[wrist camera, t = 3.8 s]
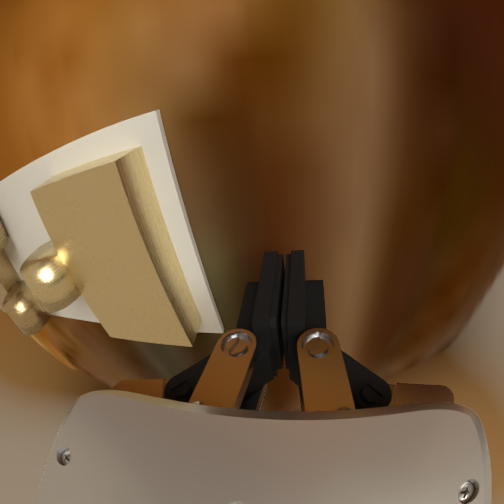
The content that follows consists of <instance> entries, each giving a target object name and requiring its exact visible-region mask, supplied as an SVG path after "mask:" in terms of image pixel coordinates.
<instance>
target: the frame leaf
mask: <svg viewBox="0 0 504 504" xmlns="http://www.w3.org/2000/svg"><path fill="white" fill-rule="evenodd" d="M8 241H9V237H8V235H7V233H6V231H5V229H4V227H3V224H2V222H1V220H0V309H1V310H2V312H5V313H8V315H9V316H10V317H11V319H12V320H13V321H14V322H15V324H16V325H17V326H18V328H19V329H20V330H21V331H22V332H23V334H24V335H32V334H35V333H36V332H38V331H39V330H40V329H41V328H42V327H43V326H44V325H45V324H46V323H47V321H48V319H49V317H50V314H51V312H46V311H45V310H44V309H43V308H42V307H41V305H40V304H39V302H38V301H37V299H36V298H35V296H34V295H33V293H32V292H31V290H30V289H29V287H28V286H27V284H26V282H25V281H24V280H21V279H20V277H19V275H18V274H17V272H16V270H15V269H14V267H13V265H12V263H11V262H10V260H9V258H8V256H7V254H6V252H5V251H4V249H3V248H4V247H5V245H6V244H7V243H8Z"/></svg>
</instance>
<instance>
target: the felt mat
mask: <svg viewBox="0 0 504 504" xmlns="http://www.w3.org/2000/svg"><path fill="white" fill-rule="evenodd" d="M138 146H142V149H143V152H144V156H145V159H146V163H147V166H148V170H149V173H150V177H151V180H152V183H153V186H154V190H155V193H156V196H157V199H158V202H159V205H160V209H161V212H162V215H163V218H164V221H165V224H166V226H167V229H168V232H169V235H170V238H171V241H172V244H173V246H174V249H175V252H176V255H177V257H178V260H179V263H180V266H181V268H182V271H183V273H184V276H185V279H186V281H187V284H188V286H189V289H190V291H191V294H192V296H193V299H194V301H195V304H196V306H197V309H198V311H199V314H200V316H201V318H202V321H201V324H200V326H199V329H198V332H203V333H223V332H224V327H223V324H222V321H221V318H220V315H219V313H218V310H217V307H216V304H215V301H214V298H213V295H212V292H211V289H210V286H209V283H208V280H207V277H206V274H205V271H204V268H203V265H202V262H201V259H200V256H199V253H198V249H197V246H196V243H195V240H194V237H193V233H192V230H191V227H190V223H189V220H188V217H187V213H186V210H185V206H184V203H183V199H182V196H181V192H180V189H179V185H178V181H177V178H176V174H175V170H174V167H173V163H172V159H171V155H170V151H169V147H168V143H167V139H166V135H165V131H164V127H163V123H162V119H161V115H160V110H156V111H152V112H149V113H146V114H143V115H139V116H136V117H133V118H130V119H128V120H125V121H122V122H119V123H116V124H114V125H111V126H108V127H106V128H103V129H101V130H98V131H96V132H93V133H91V134H88V135H86V136H84V137H82V138H79V139H77V140H75V141H73V142H70V143H68V144H66V145H64V146H62V147H60V148H58V149H56V150H54V151H52V152H50V153H48V154H46V155H44V156H42V157H40V158H39V159H37V160H35V161H33V162H31V163H29V164H28V165H26V166H24V167H23V168H21V169H19V170H18V171H16V172H14V173H13V174H11V175H9V176H8V177H6V178H5V179H3V180H2V181H0V220H1V222H2V224H3V227H4V229H5V231H6V233H7V235H8V237H9V241H8V243H7V244H6V245H5V247H4V248H3V249H4V251H5V252H6V254H7V256H8V258H9V260H10V262H11V263H12V265H13V267H14V269H15V270H16V272H17V274H18V275H19V277H20V279H21V280H24V279H23V278H22V276H21V274H20V268H21V265H22V264H23V262H24V261H25V260H26V258H27V257H28V256H29V255H30V254H31V253H32V252H34V251H35V250H36V249H37V248H39V247H40V246H41V245H43V244H45V243H46V242H48V241H50V240H51V239H50V237H49V235H48V233H47V231H46V229H45V226H44V224H43V222H42V220H41V218H40V215H39V213H38V211H37V208H36V206H35V204H34V201H33V199H32V196H31V194H30V191H32V190H33V189H34V188H36V187H37V186H39V185H40V184H42V183H43V182H45V181H46V180H48V179H49V178H51V177H53V176H54V175H56V174H58V173H61V172H63V171H66V170H68V169H71V168H74V167H76V166H79V165H82V164H85V163H87V162H90V161H93V160H96V159H99V158H102V157H105V156H108V155H111V154H114V153H118V152H121V151H124V150H128V149H131V148H135V147H138ZM50 315H55V316H61V317H66V318H72V319H78V320H85V321H91V322H98V323H100V322H99V320H98V319H97V317H96V316H95V314H94V313H93V311H92V310H91V308H90V307H89V305H88V304H87V302H86V301H85V299H84V298H83V296H82V295H80V296H79V297H78V298H77V299H76V300H75V301H74V302H73V303H72V304H70V305H69V306H67V307H66V308H64V309H62V310H60V311H57V312H51V314H50Z"/></svg>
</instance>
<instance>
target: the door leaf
mask: <svg viewBox="0 0 504 504" xmlns="http://www.w3.org/2000/svg"><path fill="white" fill-rule="evenodd" d="M30 194H31V196H32V199H33V201H34V204H35V206H36V208H37V211H38V213H39V215H40V218H41V220H42V222H43V224H44V226H45V229H46V231H47V233H48V235H49V237H50V239H51V240H50V241H48V242H46V243H45V244H43V245H41V246H40V247H39V248H37V249H36V250H35V251H34V252H32V253H31V254H30V255H29V256H28V257H27V258H26V260H25V261H24V262H23V264H22V265H21V268H20V274H21V276H22V278H23V279H24V281H25V282H26V284H27V286H28V287H29V289H30V290H31V292H32V293H33V295H34V296H35V298H36V299H37V301H38V302H39V304H40V305H41V307H42V308H43V309H44V310H45V311H46V312H57V311H60V310H62V309H64V308H66V307H67V306H69V305H70V304H72V303H73V302H74V301H75V300H76V299H77V298H78V297H79V296H80V295H82V296H83V298H84V299H85V301H86V302H87V304H88V305H89V307H90V308H91V310H92V311H93V313H94V314H95V316H96V317H97V319H98V320H99V322H100V323H101V325H102V326H103V327H104V329H105V330H106V332H107V333H108V334H109V336H110V337H114V338H120V339H127V340H134V341H141V342H149V343H158V344H167V345H177V346H188V347H193V344H194V341H195V338H196V335H197V332H198V329H199V326H200V324H201V321H202V318H201V316H200V314H199V311H198V309H197V306H196V304H195V301H194V299H193V296H192V294H191V291H190V289H189V286H188V284H187V281H186V279H185V276H184V273H183V271H182V268H181V266H180V263H179V260H178V257H177V255H176V252H175V249H174V246H173V244H172V241H171V238H170V235H169V232H168V229H167V226H166V224H165V221H164V218H163V215H162V212H161V209H160V205H159V202H158V199H157V196H156V193H155V190H154V186H153V183H152V180H151V177H150V173H149V170H148V166H147V163H146V159H145V156H144V152H143V149H142V146H138V147H135V148H131V149H128V150H124V151H121V152H118V153H114V154H111V155H108V156H105V157H102V158H99V159H96V160H93V161H90V162H87V163H85V164H82V165H79V166H76V167H74V168H71V169H68V170H66V171H63V172H61V173H58V174H56V175H54V176H53V177H51V178H49V179H48V180H46V181H45V182H43V183H42V184H40V185H39V186H37V187H36V188H34V189H33V190H32V191H30Z"/></svg>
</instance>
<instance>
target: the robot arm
mask: <svg viewBox="0 0 504 504" xmlns="http://www.w3.org/2000/svg"><path fill="white" fill-rule="evenodd" d="M284 354H285V362H286V369H289V374H290V379H291V380H292V381H293V382H294V383H295V384H297V385H298V386H299V394H300V403H301V411H302V412H280V411H259V410H260V407H261V403H262V400H263V397H264V394H265V391H266V387H267V383H268V382H270V381H271V380H272V379H274V376H277V372H278V369H282V368H283V359H284ZM36 504H491V466H490V458H489V451H488V445H487V440H486V436H485V432H484V429H483V426H482V423H481V421H480V419H479V417H478V416H477V414H476V413H475V412H474V411H473V410H471V409H470V408H468V407H465V406H463V405H459V404H455V403H454V396H453V393H452V391H451V390H450V389H449V388H447V387H446V386H442V385H424V384H407V383H397V384H396V385H391V384H388V383H386V382H385V381H384V380H383V379H381V378H380V377H379V376H377V375H376V374H374V373H373V372H371V371H370V370H369V369H367V368H366V367H364V366H363V365H361V364H360V363H359V362H357V361H356V360H354V359H353V358H352V357H350V356H349V355H347V354H346V353H344V352H343V351H342V350H341V348H340V344H339V341H338V339H337V337H336V335H335V334H334V333H333V332H331V331H329V330H327V329H326V315H325V301H324V288H323V280H309V281H305V261H304V250H297V251H291V254H286V266H285V270H284V261H283V255H278V252H277V251H275V252H265V253H264V258H263V263H262V269H261V274H260V280H259V282H248V283H247V286H246V290H245V294H244V298H243V303H242V307H241V311H240V315H239V320H238V324H237V328H236V329H233V330H229V331H227V332H225V333H224V334H223V335H222V336H221V337H220V338H219V340H218V341H217V343H216V346H215V348H214V350H213V352H212V354H211V355H209V356H208V357H206V358H204V359H203V360H201V361H199V362H198V363H196V364H195V365H193V366H191V367H190V368H188V369H186V370H184V371H183V372H181V373H179V374H178V375H176V376H174V377H173V378H172V379H170V380H169V381H165V380H164V379H148V380H123V381H120V382H118V383H117V384H116V385H115V386H114V387H113V389H112V390H98V391H93V392H89V393H86V394H84V395H82V396H80V397H79V398H78V399H77V400H76V401H75V402H74V403H73V405H72V406H71V408H70V409H69V411H68V413H67V415H66V417H65V419H64V420H63V422H62V425H61V427H60V429H59V431H58V434H57V436H56V438H55V441H54V443H53V446H52V449H51V452H50V454H49V458H48V460H47V463H46V467H45V469H44V473H43V476H42V480H41V484H40V488H39V492H38V495H37V500H36Z"/></svg>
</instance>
